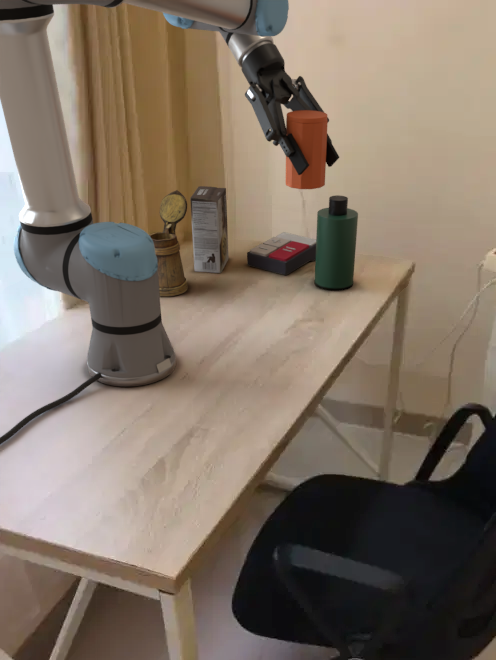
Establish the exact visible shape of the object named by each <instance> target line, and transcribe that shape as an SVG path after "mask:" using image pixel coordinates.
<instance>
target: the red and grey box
mask: <svg viewBox="0 0 496 660" xmlns="http://www.w3.org/2000/svg"><path fill="white" fill-rule="evenodd" d="M315 260H316V238H311V237H308V236H304V235H298V234H294V233H290V232H286V231H283V232H281V233H279V234H277V235H275V236H272V237H270V238H268V239H266V240H265V241H263V242H262V243H259V244H258V245H255V247H252V248H250V249H249V251H247V252H246V263H247V266H249V267H252V268H256V269H259V270H260V269H261V270H264V271H268V272H271V273H276V274H279V275H283V276H287V275H289V274H291V273H293V272H294V271H296V270H297V269H299V268H301V267H303V266H304V265H306V264H307V263H309V262H315Z"/></svg>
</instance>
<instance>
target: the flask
mask: <svg viewBox="0 0 496 660" xmlns="http://www.w3.org/2000/svg"><path fill="white" fill-rule="evenodd" d="M348 202H349V197H348V196H345V195H339V194H338V195H331V196H329V198H328V207H325V208H321V209H319V210H318V211H317V213H316V238H315V239H316V260H314V262H315V263H314V280H313V284H314V286H315V287H316V288H318V289H320V290H324V291H328V292H342V291H346V290H350V289H352V288H353V287H354V282H355V281H354V275H355V263H356V261H355V260H356V249H357V235H358V234H357V233H358V220H359V212H358V211H356V210H355V209H352V208H348Z"/></svg>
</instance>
